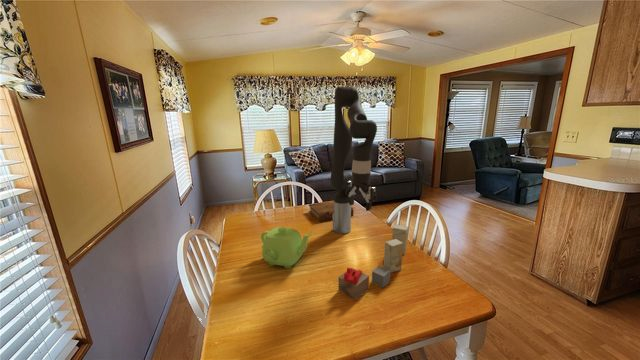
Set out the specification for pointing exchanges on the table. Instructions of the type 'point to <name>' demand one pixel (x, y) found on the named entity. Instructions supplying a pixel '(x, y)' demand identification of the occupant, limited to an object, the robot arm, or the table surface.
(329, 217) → the diary
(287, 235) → the teapot
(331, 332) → the table surface
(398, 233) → the beige stone tall block
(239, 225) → the table surface
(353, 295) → the walnut block
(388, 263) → the skincare box
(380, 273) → the grey block
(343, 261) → the table surface
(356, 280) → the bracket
